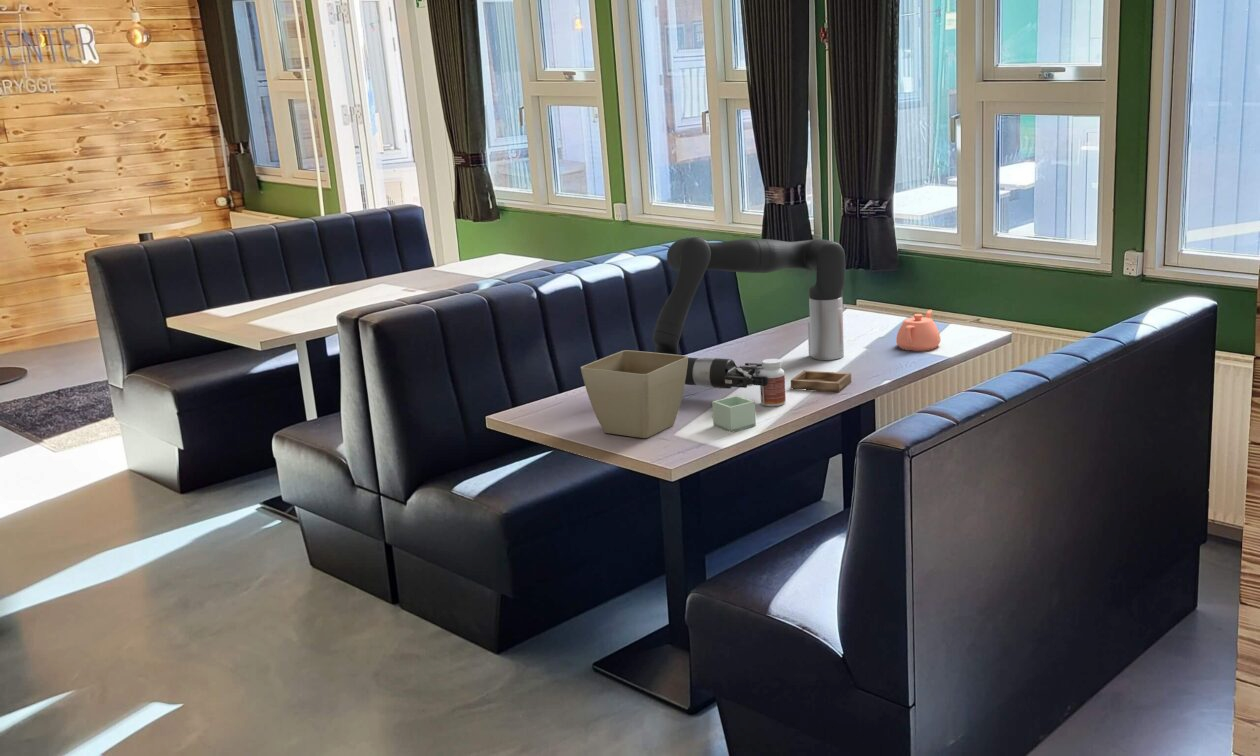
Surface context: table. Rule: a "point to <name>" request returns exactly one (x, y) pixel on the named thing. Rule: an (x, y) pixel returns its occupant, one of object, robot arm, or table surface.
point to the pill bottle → (773, 383)
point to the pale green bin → (734, 413)
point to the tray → (821, 381)
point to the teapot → (918, 333)
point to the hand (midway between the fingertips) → (773, 376)
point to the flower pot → (636, 391)
